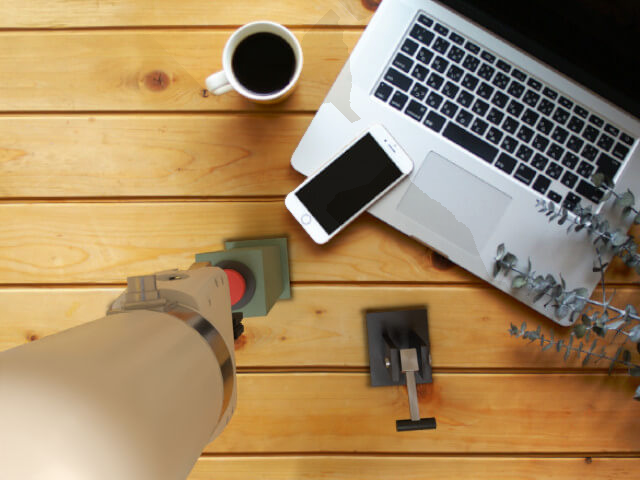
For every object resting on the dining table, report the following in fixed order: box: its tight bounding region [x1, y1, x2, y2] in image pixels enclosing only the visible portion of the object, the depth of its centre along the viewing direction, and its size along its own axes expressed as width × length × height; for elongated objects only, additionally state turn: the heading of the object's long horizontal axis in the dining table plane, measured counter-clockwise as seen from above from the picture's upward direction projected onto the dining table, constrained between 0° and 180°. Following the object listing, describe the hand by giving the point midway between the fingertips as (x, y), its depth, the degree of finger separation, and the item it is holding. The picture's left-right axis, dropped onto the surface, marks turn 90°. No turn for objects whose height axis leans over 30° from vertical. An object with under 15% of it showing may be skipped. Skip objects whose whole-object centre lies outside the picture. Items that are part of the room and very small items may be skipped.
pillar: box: [194, 237, 292, 319], centre depth 66 cm, size 9×9×25 cm
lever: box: [395, 348, 438, 433], centre depth 68 cm, size 10×5×2 cm, turn 4°
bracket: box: [365, 307, 433, 388], centre depth 73 cm, size 11×9×11 cm
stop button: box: [224, 269, 246, 306], centre depth 52 cm, size 4×4×1 cm
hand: (224, 322), depth 43 cm, fingers closed
